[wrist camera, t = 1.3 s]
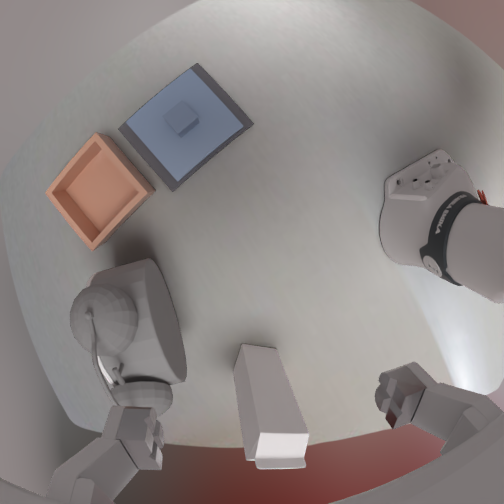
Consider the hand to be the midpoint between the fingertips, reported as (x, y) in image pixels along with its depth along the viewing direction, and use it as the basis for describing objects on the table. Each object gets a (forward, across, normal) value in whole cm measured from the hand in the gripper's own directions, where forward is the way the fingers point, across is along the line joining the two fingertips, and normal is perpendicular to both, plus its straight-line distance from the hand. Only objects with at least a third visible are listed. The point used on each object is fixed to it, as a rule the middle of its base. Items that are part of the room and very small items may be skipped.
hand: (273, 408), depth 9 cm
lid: (+31, +5, -15) cm, 35 cm away
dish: (+32, +16, -7) cm, 37 cm away
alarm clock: (+32, +12, +9) cm, 35 cm away
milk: (+32, -3, +22) cm, 39 cm away
